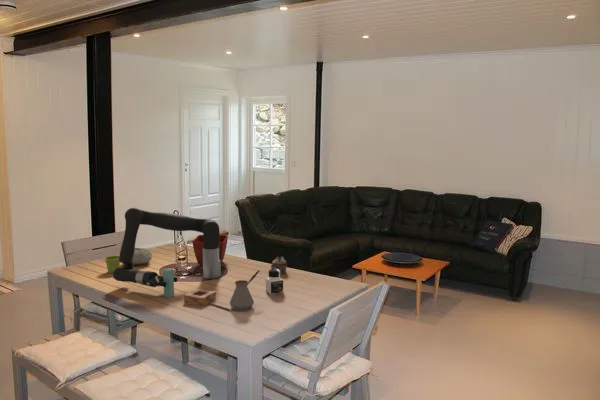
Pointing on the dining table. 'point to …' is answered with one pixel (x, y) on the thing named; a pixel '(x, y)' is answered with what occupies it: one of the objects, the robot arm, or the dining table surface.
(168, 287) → the peg
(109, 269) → the plant pot
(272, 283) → the medicine bottle
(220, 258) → the plant pot
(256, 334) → the dining table surface
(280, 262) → the cupcake
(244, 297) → the coffee pot
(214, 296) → the brown square slotted piece
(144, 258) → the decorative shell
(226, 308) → the dark grey rod
